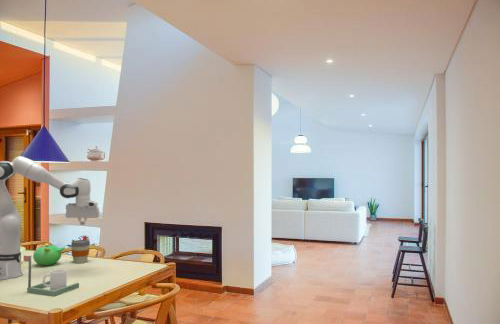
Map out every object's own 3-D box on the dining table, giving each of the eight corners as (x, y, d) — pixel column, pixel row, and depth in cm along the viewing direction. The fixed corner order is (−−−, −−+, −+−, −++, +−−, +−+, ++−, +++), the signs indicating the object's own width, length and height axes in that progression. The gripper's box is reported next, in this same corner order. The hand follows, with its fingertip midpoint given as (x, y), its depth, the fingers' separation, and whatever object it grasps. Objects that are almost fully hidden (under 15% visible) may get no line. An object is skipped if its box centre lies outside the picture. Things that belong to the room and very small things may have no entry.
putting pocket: (47, 283, 235) (48, 249, 236) (78, 287, 228) (79, 252, 228) (21, 291, 219) (22, 255, 219) (54, 296, 211) (55, 258, 212)
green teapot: (52, 261, 293) (52, 240, 293) (67, 264, 284) (67, 243, 285) (28, 266, 277) (28, 244, 278) (42, 269, 269) (43, 247, 269)
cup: (65, 290, 221) (65, 272, 221) (41, 292, 217) (41, 273, 218) (67, 286, 229) (67, 268, 229) (43, 288, 225) (44, 270, 225)
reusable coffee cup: (66, 262, 288) (67, 241, 289) (82, 259, 299) (82, 239, 299) (77, 265, 282) (78, 243, 282) (93, 261, 292) (93, 241, 293)
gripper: (64, 203, 256) (64, 225, 256) (98, 203, 260) (97, 225, 260) (67, 202, 263) (66, 224, 262) (100, 202, 266) (99, 223, 266)
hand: (82, 224), depth 261 cm, fingers closed
